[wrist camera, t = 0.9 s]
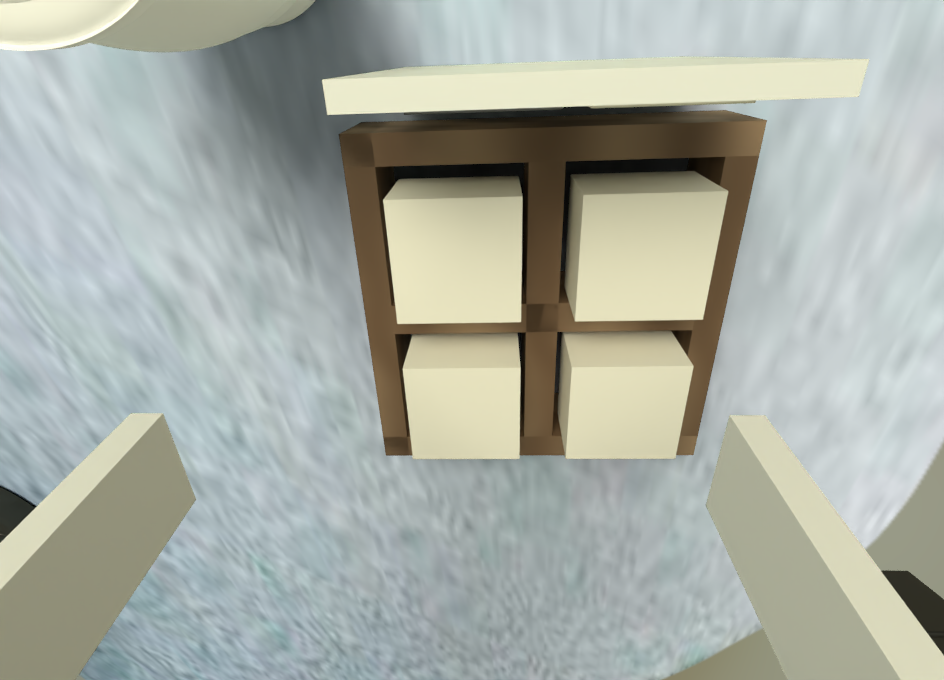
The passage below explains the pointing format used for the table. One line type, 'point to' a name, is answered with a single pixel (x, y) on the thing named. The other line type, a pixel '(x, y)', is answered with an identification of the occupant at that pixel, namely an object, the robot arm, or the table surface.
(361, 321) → the table surface
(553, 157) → the board
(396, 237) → the button near left
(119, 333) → the table surface
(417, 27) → the table surface
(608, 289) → the button near right
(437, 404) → the button far left
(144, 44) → the jar
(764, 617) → the robot arm
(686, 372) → the button far right
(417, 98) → the card
